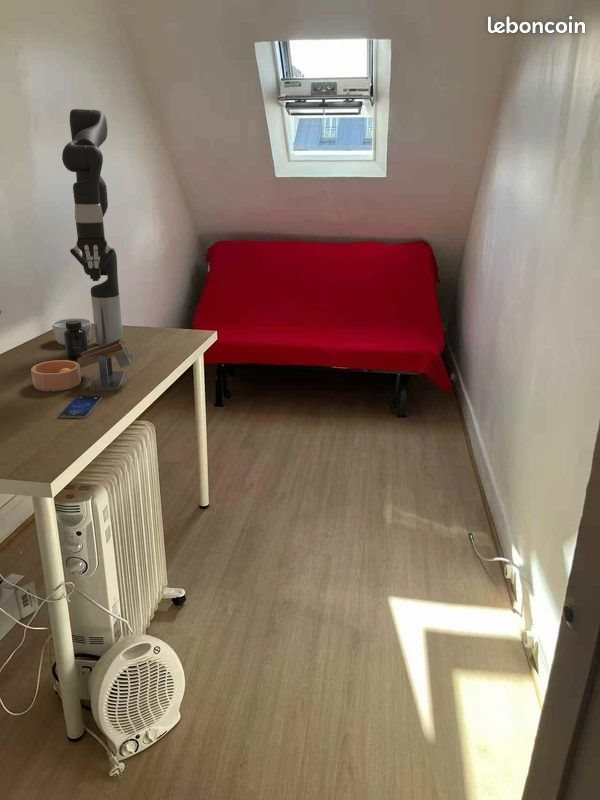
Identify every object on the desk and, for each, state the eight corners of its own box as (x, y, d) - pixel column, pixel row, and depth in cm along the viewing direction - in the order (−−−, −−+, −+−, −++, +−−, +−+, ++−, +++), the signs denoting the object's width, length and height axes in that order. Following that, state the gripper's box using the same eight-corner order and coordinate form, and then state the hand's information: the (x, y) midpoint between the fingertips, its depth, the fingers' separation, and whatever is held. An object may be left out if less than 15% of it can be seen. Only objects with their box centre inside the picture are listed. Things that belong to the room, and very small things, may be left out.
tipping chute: (96, 364, 184) (86, 344, 182) (135, 349, 184) (126, 330, 182) (87, 380, 170) (76, 360, 168) (130, 364, 171) (120, 344, 168)
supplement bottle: (92, 355, 199) (88, 319, 195) (83, 361, 193) (79, 325, 188) (72, 354, 200) (68, 319, 195) (63, 360, 193) (58, 324, 189)
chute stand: (97, 374, 181) (94, 344, 177) (124, 374, 182) (121, 343, 179) (89, 391, 168) (85, 358, 165) (118, 390, 169) (115, 357, 166)
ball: (76, 377, 175) (63, 380, 175) (71, 364, 174) (58, 368, 173) (74, 381, 172) (60, 385, 171) (69, 369, 170) (55, 372, 170)
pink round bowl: (40, 377, 178) (37, 360, 176) (84, 375, 180) (82, 359, 178) (28, 392, 166) (26, 374, 164) (76, 390, 168) (73, 373, 166)
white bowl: (101, 340, 216) (99, 321, 213) (70, 348, 205) (68, 329, 203) (77, 334, 222) (74, 316, 220) (46, 342, 212) (43, 323, 209)
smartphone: (103, 395, 164) (85, 417, 150) (104, 398, 164) (86, 420, 150) (76, 394, 164) (56, 416, 150) (77, 397, 164) (56, 419, 150)
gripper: (114, 219, 177) (120, 278, 183) (68, 219, 175) (75, 278, 181) (111, 221, 170) (117, 282, 176) (62, 221, 168) (70, 283, 174)
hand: (95, 280), depth 179 cm, fingers closed
